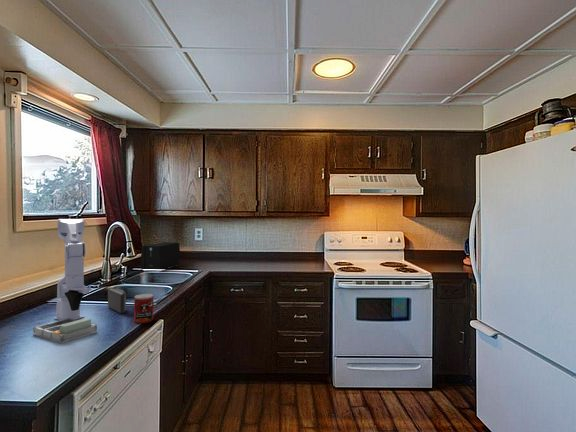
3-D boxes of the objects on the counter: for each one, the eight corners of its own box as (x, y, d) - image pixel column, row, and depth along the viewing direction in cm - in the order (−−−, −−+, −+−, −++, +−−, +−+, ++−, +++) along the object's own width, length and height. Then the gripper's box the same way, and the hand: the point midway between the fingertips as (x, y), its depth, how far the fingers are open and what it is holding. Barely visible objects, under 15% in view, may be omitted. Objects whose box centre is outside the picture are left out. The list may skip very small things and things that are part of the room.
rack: (33, 334, 137) (33, 325, 137) (69, 324, 149) (69, 316, 149) (61, 343, 129) (61, 334, 129) (96, 332, 141) (96, 323, 141)
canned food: (134, 324, 151) (134, 298, 151) (134, 319, 158) (134, 294, 158) (153, 322, 154) (153, 297, 154) (152, 317, 161) (152, 292, 161)
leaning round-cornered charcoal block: (130, 312, 168) (130, 292, 168) (120, 314, 165) (120, 294, 164) (116, 305, 179) (116, 287, 179) (107, 307, 176) (107, 288, 175)
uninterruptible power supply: (140, 271, 276) (140, 245, 276) (163, 265, 309) (163, 241, 309) (160, 272, 273) (160, 246, 273) (181, 265, 306) (181, 242, 306)
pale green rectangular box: (59, 337, 133) (59, 325, 133) (85, 329, 142) (85, 318, 142) (64, 338, 132) (64, 326, 132) (90, 330, 140) (90, 319, 140)
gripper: (53, 274, 136) (53, 309, 136) (76, 278, 129) (76, 315, 130) (71, 271, 142) (71, 305, 143) (94, 275, 136) (94, 310, 136)
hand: (75, 310), depth 137 cm, fingers closed
